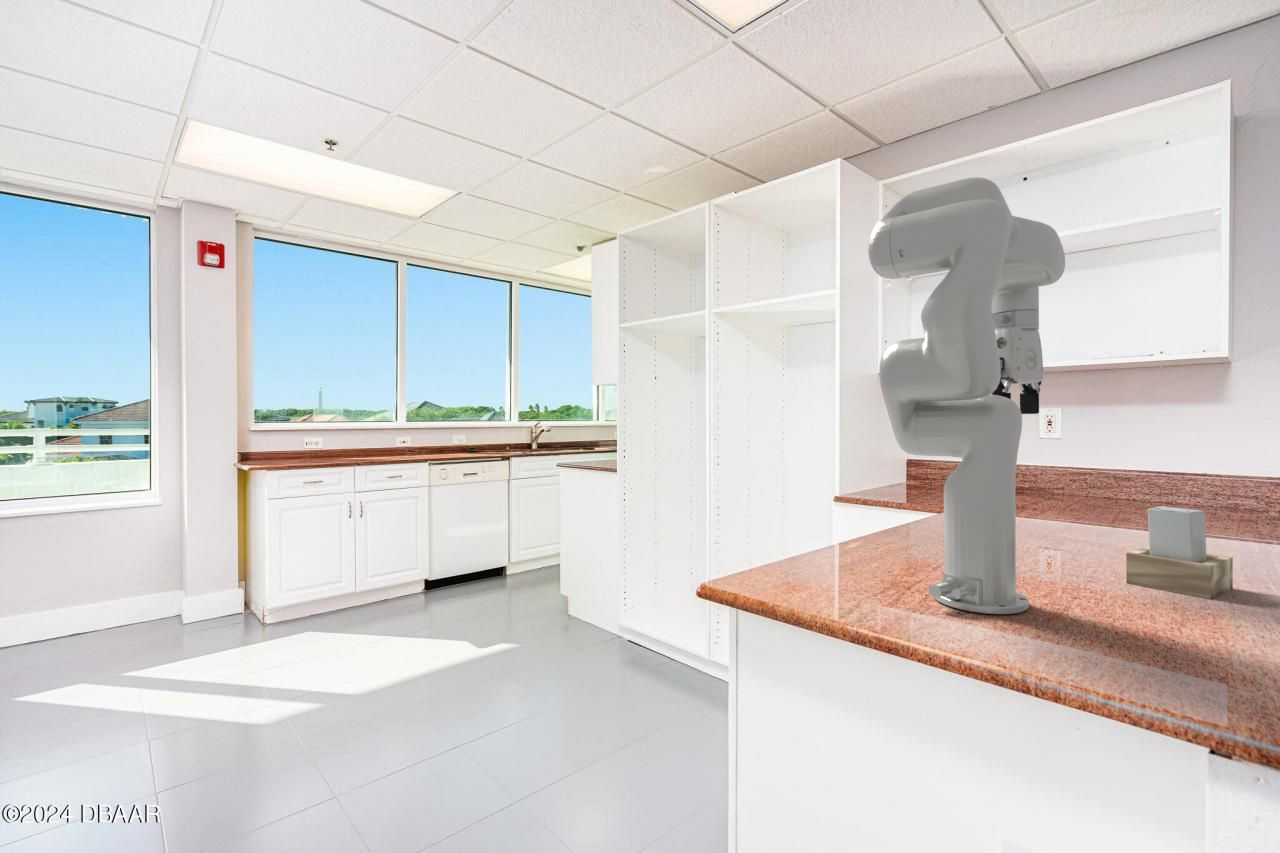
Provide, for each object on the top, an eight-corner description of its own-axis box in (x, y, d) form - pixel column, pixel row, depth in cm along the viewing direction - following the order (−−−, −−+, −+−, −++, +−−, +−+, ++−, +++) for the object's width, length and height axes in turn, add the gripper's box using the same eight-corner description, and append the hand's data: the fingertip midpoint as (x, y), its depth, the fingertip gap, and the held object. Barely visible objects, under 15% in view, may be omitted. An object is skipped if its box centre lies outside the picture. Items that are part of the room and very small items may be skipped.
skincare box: (1208, 585, 96) (1208, 510, 95) (1193, 589, 94) (1193, 512, 94) (1162, 576, 101) (1162, 505, 101) (1147, 580, 99) (1146, 507, 99)
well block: (1210, 599, 91) (1210, 566, 91) (1126, 582, 100) (1126, 553, 100) (1232, 588, 95) (1232, 557, 95) (1150, 574, 105) (1150, 545, 104)
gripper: (1010, 317, 105) (1011, 414, 105) (1060, 323, 114) (1060, 413, 114) (968, 323, 111) (969, 415, 112) (1018, 328, 120) (1019, 413, 120)
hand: (1015, 414), depth 113 cm, fingers open, 9 cm apart
